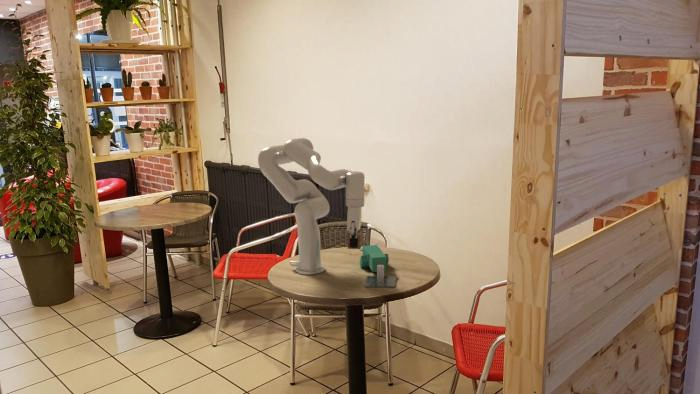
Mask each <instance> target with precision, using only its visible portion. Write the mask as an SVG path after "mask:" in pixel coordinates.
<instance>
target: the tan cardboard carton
mask: <svg viewBox="0 0 700 394" xmlns="http://www.w3.org/2000/svg"><path fill="white" fill-rule="evenodd" d="M355 231H356V229H355ZM355 234H356V232H355ZM362 236H363V230H362V229H359V231H357V238H358V247H357V248H351V247H350V230H349V231H347V249H351V250H362V249H361V248H362V247H363V244H362V243H363V242H362V240H363V237H362Z"/></svg>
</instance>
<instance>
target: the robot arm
mask: <svg viewBox="0 0 700 394" xmlns="http://www.w3.org/2000/svg"><path fill="white" fill-rule="evenodd" d="M257 157H258V158H257V161H258V162H257V163H258V167H259V170H260V172H261V173H262V174H263V176H264V177H265V178H266V179H267V180H269V182H270V183H271V184H272V185H273V187H275V189H276V190H277V191H278V193H280V195H281V196H282V197H283V199H284V200H286V202H287V203H289V204H296V203H297V204H296V205H295V208H294V217H295V221H296V226H297V227H296V228H297V240H298V242H297V244H298V245H297V246H298V259H297V260H296V261H295V260H290V261H289V265H290V266H291V267H296V268H295V272H296V273H297V274H299V275H306V276H307V275H318V274H321V273H323V272H324V271H325V269H326V267H325V265H323V264H322V255H321V254H322V252H321V235H320V234H321V233H320V227H319V225H318V221H317V220H319V219H321V218H324V217H326V216H328V214H329V213H330V209H331V208H330V204H329V201H328V199H327V198H326V197H325V195H324V194H323V193H322V192H321V191H320V190H319V189H318V188H317V186H316V185H315V184H314V183H313V182H315V183H316V184H318V185H319V186H320V187H322V188H323V189H325V190H328V191H335V190H338V189H343V188H345V206H346V207H347V216H346V218H347V219H346V231H347V232H348V231H349V230H350V247H351V248H357V247H358V238H357V231H359V230H361V229H360V228H361V226H362V208H363V207H365V173H364V172H362V171H356V170H354V171H352V170H348V169H344V168H342V169H337V170H336V169H335V170H332V171H330V170H328V169H327V168H326V167H324V166H322V165H321V164H320V163H321V160H322V159H321V158H322V157H321V154H320V153H318V152H317V151H315V150H314V144H313V143H312V141H311V140H309V139H307V138H306V137H302V138H301V137H300V138H293V139H289V140H287V141H285V143H284V144H280V145H273V146H267V147H265V148H262V150H261V151H260V152H259V153H258V156H257ZM293 162H294V163H296V165H299V166H300V167H302V168H303V169H305V170H306V171H307V172H308V175H309V177H310V179H311V180H312V181H313V182H312V181H310V180H309V179H305V178H304V179H295V178H294V177H293V176H292V175H291V174H290V173H289V172H288V171H287V170H286V169H284V168H283V167H282V166H280V165H284V164H285V165H286V164H290V163H293ZM355 229H356V231H355ZM355 232H356V234H355Z"/></svg>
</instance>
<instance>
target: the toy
mask: <svg viewBox="0 0 700 394" xmlns="http://www.w3.org/2000/svg"><path fill="white" fill-rule="evenodd" d="M358 251H359V252H362V255H361V256H360V259H359V267H360V269H364V268H365V269H367V268H368V269H369V268H370V270H371V271H372V272H376V273H377V265H384V272H387V267H388V265H389V260H390V259H389V254H388V253H384V252H383V250H382V249H381V248H380V247H379V246H378V244H371V245H370V240H368V242H367V243H365V244H364V245H362V249H358Z"/></svg>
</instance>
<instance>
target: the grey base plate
mask: <svg viewBox="0 0 700 394" xmlns="http://www.w3.org/2000/svg"><path fill="white" fill-rule="evenodd" d="M396 281H397V276H392V275H389V276H388V275H386V276H385V271H384V265H377V272H376V275H367V276H366V279H365V282H364V288H382V289H383V288H384V289H386V288H387V289H388V288H390V289H391V288H392V289H395V288H396V283H397V282H396Z"/></svg>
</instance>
